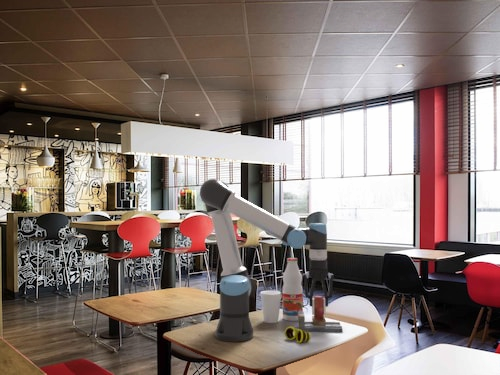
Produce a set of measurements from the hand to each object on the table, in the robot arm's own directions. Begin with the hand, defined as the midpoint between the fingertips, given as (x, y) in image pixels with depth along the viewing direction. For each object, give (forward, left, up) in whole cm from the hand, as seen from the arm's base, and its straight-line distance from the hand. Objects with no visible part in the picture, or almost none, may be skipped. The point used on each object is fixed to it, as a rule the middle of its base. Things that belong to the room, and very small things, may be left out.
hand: (318, 314), depth 182 cm
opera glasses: (-10, -17, -7) cm, 20 cm away
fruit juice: (-11, +16, -6) cm, 20 cm away
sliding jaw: (0, 0, -4) cm, 4 cm away
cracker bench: (0, 0, -6) cm, 6 cm away
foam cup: (-21, +11, -6) cm, 24 cm away
